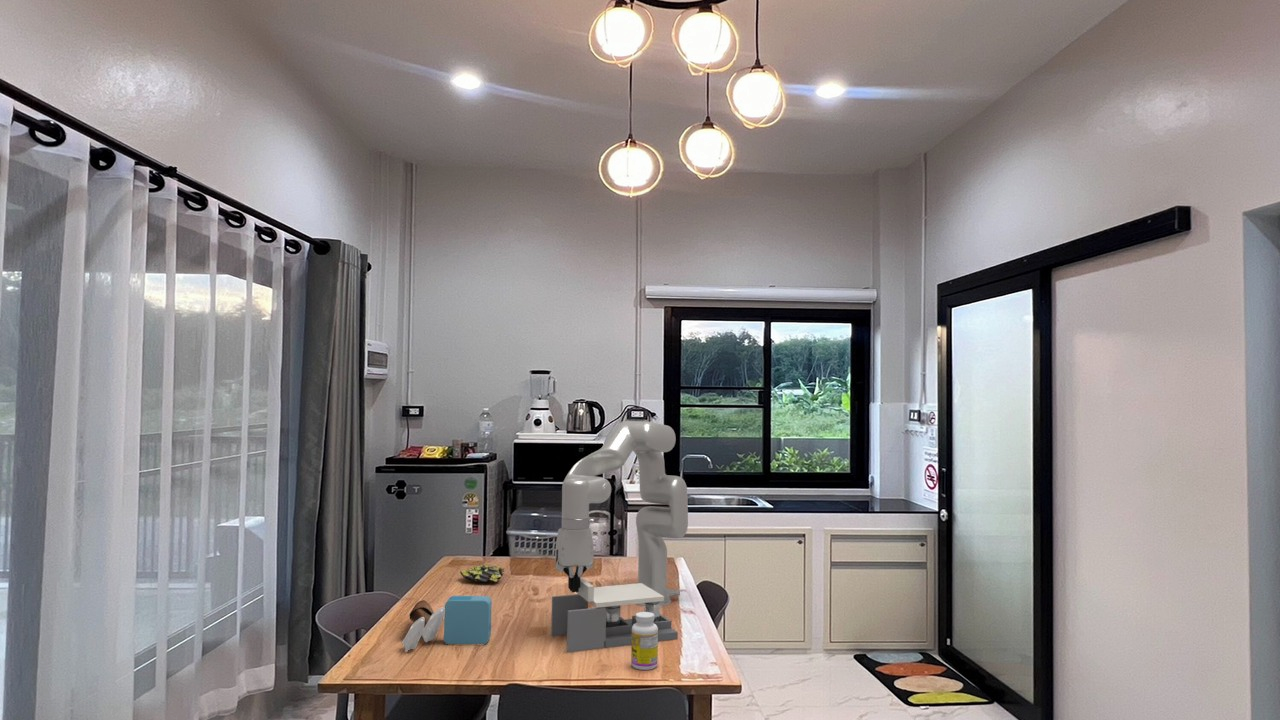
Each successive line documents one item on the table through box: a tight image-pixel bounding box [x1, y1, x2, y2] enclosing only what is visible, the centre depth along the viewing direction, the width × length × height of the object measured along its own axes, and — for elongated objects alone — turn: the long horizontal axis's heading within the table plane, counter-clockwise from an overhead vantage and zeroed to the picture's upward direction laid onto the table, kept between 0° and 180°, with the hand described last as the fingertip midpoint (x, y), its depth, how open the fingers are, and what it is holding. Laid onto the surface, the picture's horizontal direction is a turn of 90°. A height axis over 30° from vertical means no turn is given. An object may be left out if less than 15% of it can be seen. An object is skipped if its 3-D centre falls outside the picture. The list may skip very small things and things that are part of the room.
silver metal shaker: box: [643, 601, 661, 622], centre depth 214 cm, size 4×4×8 cm
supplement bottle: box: [630, 611, 659, 671], centre depth 187 cm, size 7×7×13 cm
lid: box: [575, 576, 664, 608], centre depth 210 cm, size 22×16×5 cm
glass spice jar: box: [606, 605, 622, 628], centre depth 209 cm, size 4×4×8 cm
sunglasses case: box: [409, 600, 435, 628], centre depth 212 cm, size 18×7×7 cm, turn 13°
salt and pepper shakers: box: [401, 606, 445, 652], centre depth 199 cm, size 12×4×11 cm
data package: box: [443, 595, 493, 646], centre depth 203 cm, size 12×4×12 cm, turn 93°
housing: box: [550, 593, 679, 654], centre depth 210 cm, size 32×16×11 cm, turn 113°
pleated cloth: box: [459, 563, 506, 583], centre depth 277 cm, size 20×16×7 cm
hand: (574, 590), depth 205 cm, fingers closed
